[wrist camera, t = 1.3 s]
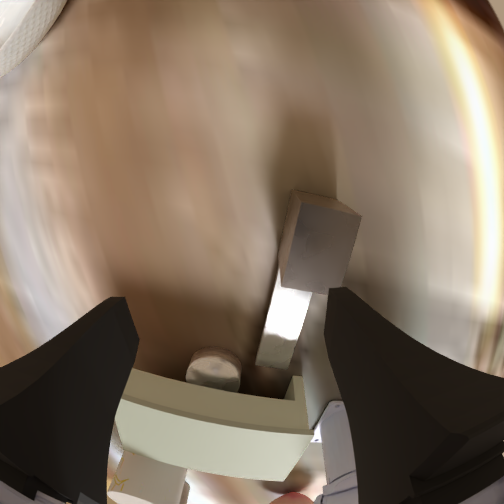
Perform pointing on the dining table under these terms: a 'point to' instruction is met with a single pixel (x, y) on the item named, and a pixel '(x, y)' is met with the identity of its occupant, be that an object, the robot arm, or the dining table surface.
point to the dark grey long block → (305, 269)
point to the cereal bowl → (24, 28)
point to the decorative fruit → (293, 499)
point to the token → (215, 369)
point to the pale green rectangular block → (213, 427)
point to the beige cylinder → (146, 481)
